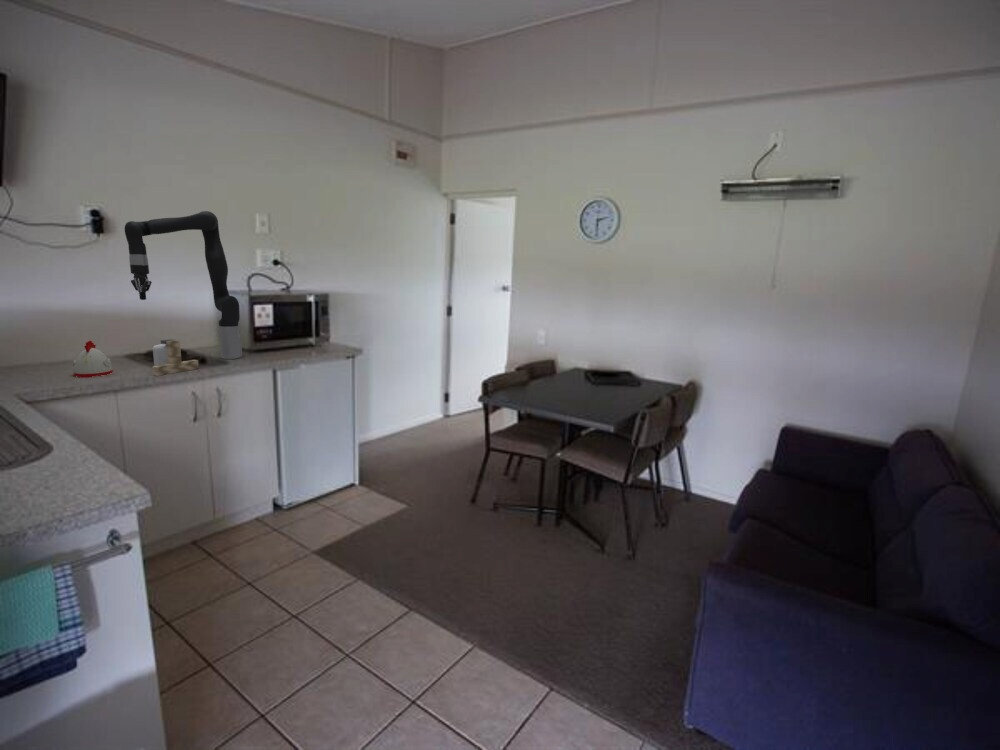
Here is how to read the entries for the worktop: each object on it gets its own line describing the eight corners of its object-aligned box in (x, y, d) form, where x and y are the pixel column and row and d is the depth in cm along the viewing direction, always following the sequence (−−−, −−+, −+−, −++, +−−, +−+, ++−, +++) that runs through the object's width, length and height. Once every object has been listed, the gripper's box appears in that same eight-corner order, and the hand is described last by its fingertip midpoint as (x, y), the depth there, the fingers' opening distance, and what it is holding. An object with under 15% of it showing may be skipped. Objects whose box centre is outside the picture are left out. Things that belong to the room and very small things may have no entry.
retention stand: (189, 366, 256) (186, 337, 253) (198, 368, 253) (196, 338, 250) (147, 374, 238) (143, 342, 235) (157, 375, 235) (153, 343, 232)
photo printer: (180, 369, 249) (177, 343, 247) (174, 371, 245) (171, 345, 243) (159, 368, 250) (156, 343, 247) (153, 370, 246) (150, 344, 243)
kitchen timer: (67, 377, 226) (62, 343, 223) (83, 371, 239) (78, 338, 236) (105, 377, 230) (101, 343, 227) (118, 370, 243) (114, 338, 240)
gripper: (122, 263, 256) (126, 299, 259) (139, 264, 250) (143, 301, 254) (138, 263, 262) (142, 298, 266) (155, 264, 257) (159, 300, 261)
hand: (143, 299), depth 260 cm, fingers closed
